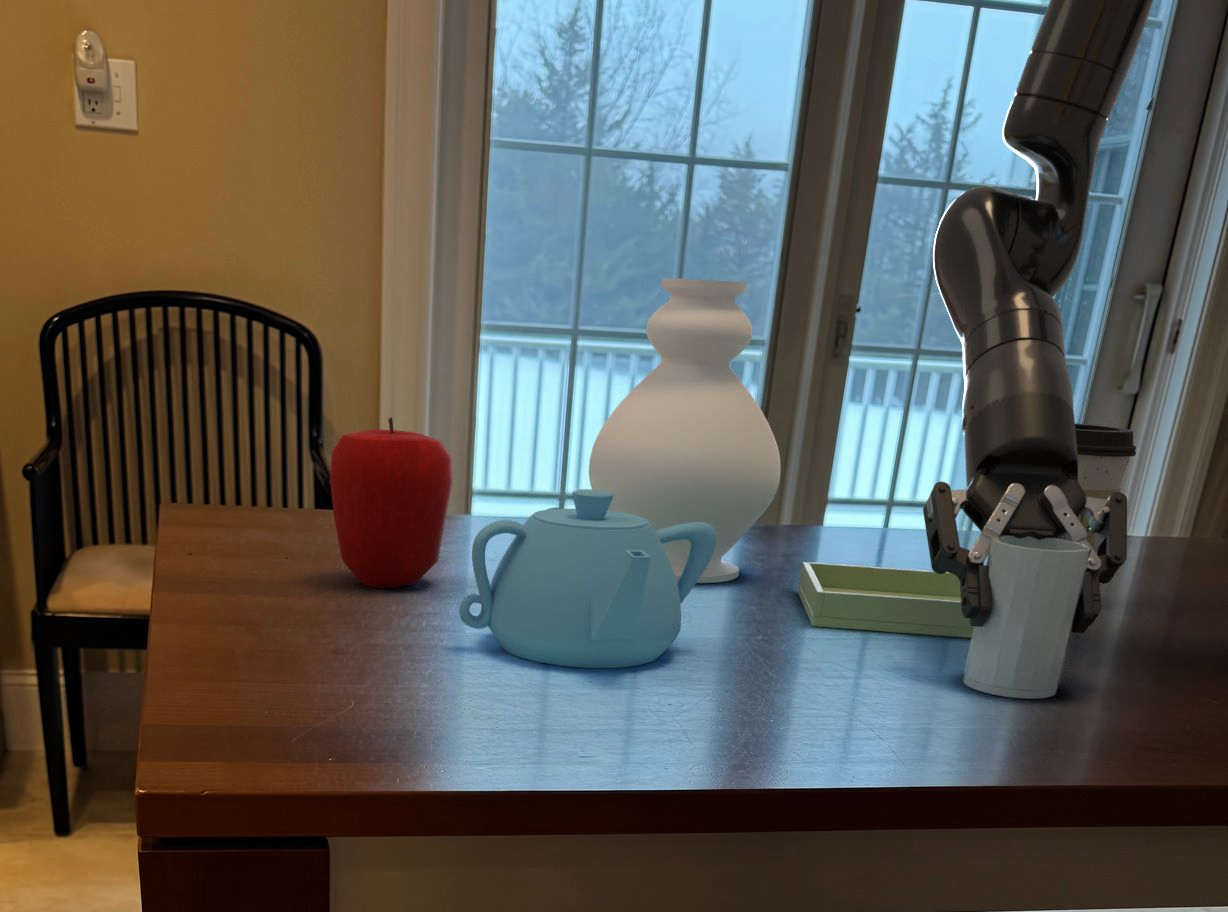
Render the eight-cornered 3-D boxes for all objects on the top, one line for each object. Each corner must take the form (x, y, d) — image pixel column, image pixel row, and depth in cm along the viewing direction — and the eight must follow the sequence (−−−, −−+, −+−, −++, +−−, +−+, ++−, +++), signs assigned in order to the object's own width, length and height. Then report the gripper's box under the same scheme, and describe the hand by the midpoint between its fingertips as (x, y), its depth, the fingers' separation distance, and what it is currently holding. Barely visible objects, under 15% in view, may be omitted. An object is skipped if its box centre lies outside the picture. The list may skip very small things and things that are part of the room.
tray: (989, 607, 127) (996, 575, 125) (1024, 642, 114) (1032, 607, 113) (797, 593, 128) (802, 561, 127) (811, 626, 116) (817, 591, 114)
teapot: (718, 641, 109) (737, 489, 103) (633, 688, 95) (650, 516, 90) (541, 613, 115) (550, 468, 110) (437, 653, 101) (442, 490, 96)
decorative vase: (796, 589, 130) (841, 287, 118) (614, 588, 125) (643, 276, 114) (723, 554, 145) (757, 284, 133) (559, 553, 141) (579, 274, 129)
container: (1044, 679, 103) (1077, 538, 98) (1066, 702, 97) (1102, 553, 93) (955, 672, 104) (984, 532, 99) (972, 694, 98) (1003, 547, 93)
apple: (459, 595, 120) (467, 425, 114) (341, 595, 117) (342, 421, 111) (433, 571, 129) (438, 412, 123) (322, 570, 126) (322, 408, 120)
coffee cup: (1088, 613, 126) (1131, 435, 119) (978, 597, 131) (1014, 424, 124) (1107, 597, 134) (1149, 429, 127) (1003, 582, 138) (1038, 419, 131)
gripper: (936, 382, 98) (946, 586, 93) (1140, 393, 98) (1162, 598, 93) (904, 454, 105) (912, 647, 100) (1094, 465, 105) (1112, 658, 100)
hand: (1032, 623), depth 97 cm, fingers closed on container, 6 cm apart
